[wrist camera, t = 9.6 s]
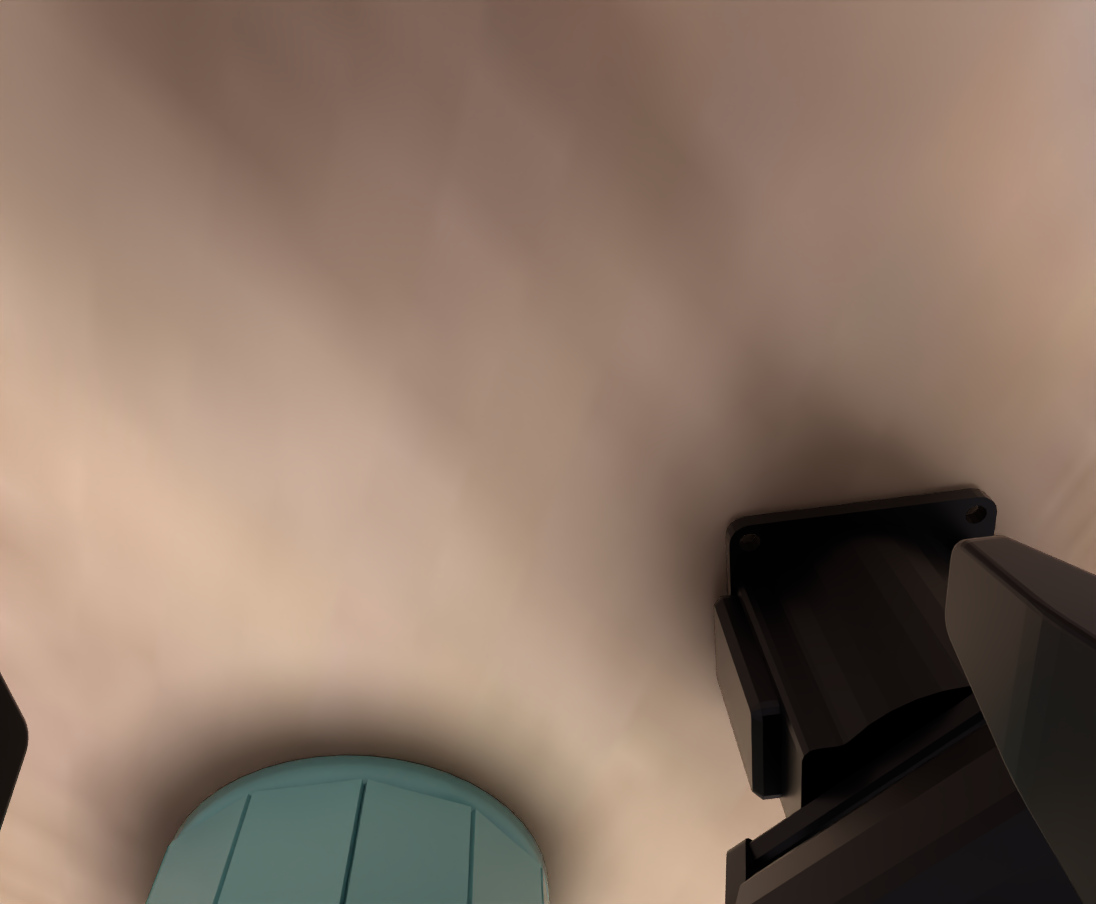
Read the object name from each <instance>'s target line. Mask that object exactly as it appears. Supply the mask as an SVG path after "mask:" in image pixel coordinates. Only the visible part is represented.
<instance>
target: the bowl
mask: <svg viewBox="0 0 1096 904" xmlns="http://www.w3.org/2000/svg"><path fill="white" fill-rule="evenodd" d="M145 904H549V889H548V876H547V870H546V866H545V862H544V859H543V855H542V853H541V851H540V849H539V847H538V845H537V843H536V841H535V839H534V838H533V836H532V835H531V834H530V832H529V831H528V829H527V828H526V827H525V825H524V824H523V823H522V822H521V821H520V820H519V819H518V818H517V817H516V816H515V815H514V814H513V813H512V812H511V811H510V810H509V809H508V808H507V807H506V806H504V805H503V804H502V803H500V802H499V801H498V800H497V799H495V798H494V797H493V796H491V795H490V794H488V793H486V792H485V791H483V790H481V789H480V788H478V787H476V786H475V785H473V784H471V783H469V782H467V781H464V780H462V779H460V778H458V777H456V776H453V775H451V774H449V773H446V772H443V771H440V770H437V769H434V768H431V767H428V766H425V765H421V764H416V763H411V762H407V761H402V760H398V759H390V758H382V757H373V756H348V755H339V756H325V757H313V758H307V759H301V760H295V761H290V762H285V763H282V764H278V765H275V766H271V767H267V768H264V769H261V770H259V771H256V772H254V773H251V774H249V775H246V776H244V777H241V778H239V779H237V780H235V781H234V782H232V783H230V784H228V785H226V786H225V787H223V788H221V789H219V790H218V791H216V792H215V793H214V794H212V795H211V796H210V797H208V798H207V799H206V800H204V801H203V802H202V803H201V804H200V805H199V806H198V807H197V808H196V809H195V810H194V811H193V812H192V813H191V814H190V815H189V816H188V817H187V818H186V819H185V821H184V822H183V824H182V825H181V827H180V828H179V829H178V831H177V832H176V834H175V836H174V839H173V841H172V842H171V844H170V845H168V848H167V850H166V853H165V855H164V858H163V860H162V863H161V865H160V868H159V871H158V873H157V876H156V878H155V881H154V883H153V886H152V888H151V891H150V893H149V896H148V898H147V901H146V903H145Z"/></svg>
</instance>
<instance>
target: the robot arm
mask: <svg viewBox="0 0 1096 904" xmlns="http://www.w3.org/2000/svg"><path fill="white" fill-rule="evenodd" d="M975 506H978V509H977V510H976V511H975V512H974V513H972V514H970V515H966V513H967V511H968V510H969V509H971V508H972V507H975ZM996 515H997V509H996V505H995V503H994V502H993V501H992V499H991V498H990V497H989V496H988V495H987V494H986V493H985V492H983V491H981V490H979V489H964V490H956V491H948V492H940V493H932V494H924V495H916V496H908V497H900V498H892V499H884V500H875V501H867V502H859V503H851V504H843V505H835V506H827V507H819V508H811V509H803V510H795V511H787V512H778V513H770V514H762V515H754V516H746V517H742V518H739V519H737V520H735V521H734V522H732V523H731V524H730V526H729V527H728V529H727V532H726V562H727V593H728V595H727V596H721V597H720V598H719V600H718V601H717V602H716V603H715V605H714V622H715V646H716V670H717V679H718V683H719V686H720V689H721V692H722V696H723V699H724V702H725V706H726V709H727V712H728V715H729V719H730V722H731V725H732V728H733V732H734V735H735V738H736V741H737V745H738V748H739V751H740V754H741V758H742V761H743V764H744V768H745V771H746V774H747V777H748V781H749V784H750V787H751V790H752V792H754V793H755V794H756V795H757V796H759V797H760V798H761V799H763V800H765V799H773V798H780V801H781V803H782V806H783V809H784V812H785V815H786V819H784V820H783V821H781V822H780V823H778V824H777V825H775V826H774V827H772V828H771V829H769V830H768V831H766V832H765V833H763V834H762V835H760V836H759V837H757V838H756V839H754V840H753V841H752V840H751V839H749V838H747V839H745V840H744V841H742V842H741V843H739V844H738V845H736V846H735V847H733V848H732V849H730V850H729V851H727V859H726V895H725V904H1096V575H1094V574H1092V573H1089V572H1087V571H1085V570H1082V569H1080V568H1078V567H1075V566H1073V565H1071V564H1068V563H1066V562H1064V561H1062V560H1059V559H1057V558H1055V557H1052V556H1050V555H1048V554H1045V553H1043V552H1041V551H1038V550H1036V549H1034V548H1031V547H1029V546H1027V545H1024V544H1022V543H1020V542H1017V541H1015V540H1013V539H1010V538H1008V537H1005V536H999V535H996V536H994V530H995V522H996ZM747 534H755V537H754V538H753V539H752V540H751V541H749V542H740V539H741V538H742V537H743V536H744V535H747ZM27 746H28V728H27V724H26V721H25V719H24V717H23V715H22V713H21V711H20V709H19V707H18V705H17V703H16V702H15V700H14V698H13V696H12V694H11V692H10V690H9V688H8V686H7V684H6V682H5V680H4V679H3V677H2V675H1V673H0V830H1V827H2V824H3V821H4V818H5V815H6V812H7V809H8V806H9V803H10V800H11V797H12V793H13V790H14V787H15V784H16V781H17V778H18V775H19V772H20V769H21V766H22V763H23V760H24V757H25V754H26V751H27Z"/></svg>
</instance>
